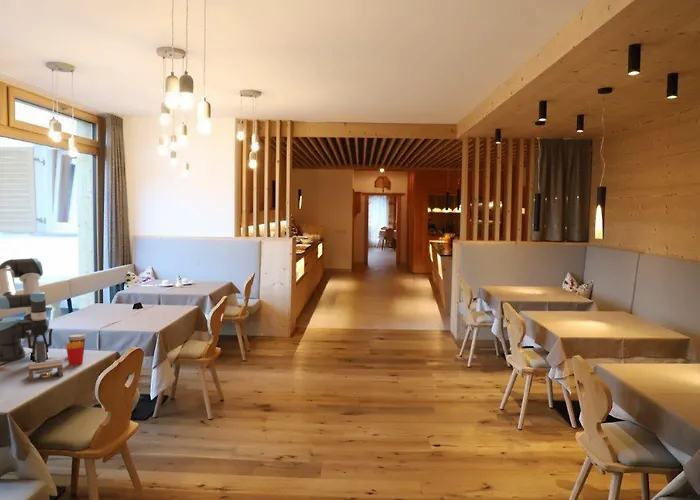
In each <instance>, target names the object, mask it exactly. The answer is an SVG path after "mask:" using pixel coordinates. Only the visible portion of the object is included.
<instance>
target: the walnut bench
mask: <svg viewBox="0 0 700 500" xmlns="http://www.w3.org/2000/svg"><path fill="white" fill-rule="evenodd" d="M27 367H28V370H27V371H28V372H27V373H28V379H29V382H34V372H35V371H40V370H47V369H52V370H54V369H57V374H58V375H59V378H60V377H61V378H62V377H64V374H63V373H64V371H63V370H64V369H63V363H62V361H61V359H56V360H49V361H45V362H40V363H37V362H35V363H29V364H27Z"/></svg>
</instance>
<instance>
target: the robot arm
mask: <svg viewBox="0 0 700 500" xmlns="http://www.w3.org/2000/svg"><path fill="white" fill-rule="evenodd" d="M43 273H44V270H43V266H42V262H41V260H40V259H39V258H33V257H32V258H31V257H30V258H19V259H18V258H17V259H7V260H5V261H3V262H2V263H1V264H0V295H1V296H0V310H11V309H18V308H20V309H21V308H25V315H24V316H23V319H21V318H20V317H19V316H15V317H9V318H4V319H2V320H0V362H11V361H16V360H21V359H23V358H25V357H26V351H25V349H24V347H23V343H22V340H23V339H27V345H28V349H31V350H32V355H34V360H35V361H36V360H37V351H36V342H37V338H41V337H42V339H43V340H42V341H44V345H45V360H46V359H47V353H49V347H50V346H52V345H53V343H52V339H53V337H52V333H53V330H54V329H53V328H51V327H50V316H47V304H46V303H47V302H46V299H47V297H46V293H45V292H44V291H41V290H40V283H39V280H40V279H41V277H43V275H44V274H43ZM17 278H18V279H19V281H20V282H22V289H23V294H17V289H16V283H15V279H17ZM46 336H48V341H47V337H46ZM31 339H33V340H31ZM31 341H32V342H31Z"/></svg>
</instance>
